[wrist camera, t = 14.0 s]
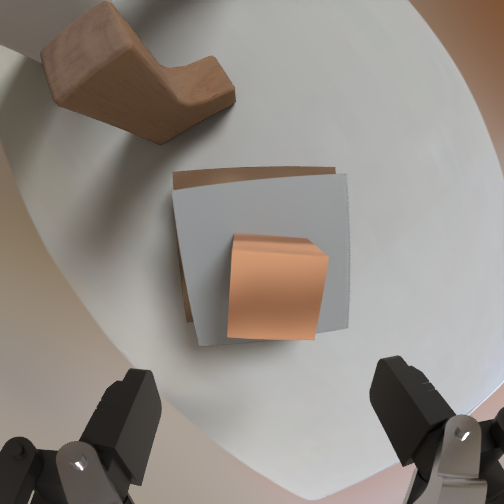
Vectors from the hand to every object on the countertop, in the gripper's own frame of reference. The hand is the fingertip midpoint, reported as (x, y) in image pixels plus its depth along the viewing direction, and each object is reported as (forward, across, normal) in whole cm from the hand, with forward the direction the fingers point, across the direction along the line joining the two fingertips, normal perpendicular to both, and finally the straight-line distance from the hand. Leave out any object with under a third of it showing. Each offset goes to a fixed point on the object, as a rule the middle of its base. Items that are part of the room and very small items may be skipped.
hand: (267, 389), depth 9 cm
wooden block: (+21, +6, -15) cm, 26 cm away
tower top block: (+16, -1, -1) cm, 16 cm away
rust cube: (+11, -1, -1) cm, 11 cm away
